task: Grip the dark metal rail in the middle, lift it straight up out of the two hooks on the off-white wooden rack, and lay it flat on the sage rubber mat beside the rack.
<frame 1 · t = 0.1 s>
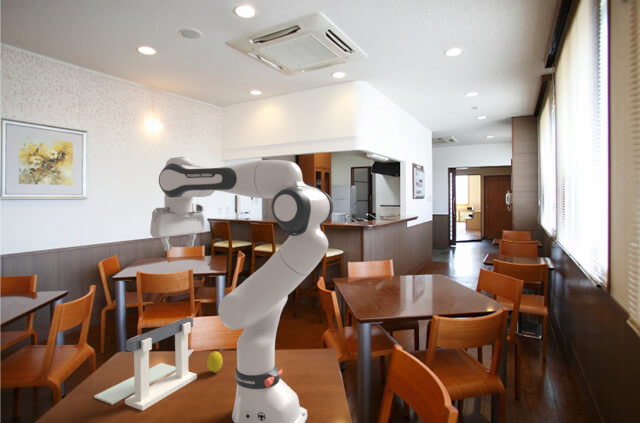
hand: (179, 248, 119), 48 cm above the table, tool pointing down, fingers open, 8 cm apart
mat: (139, 382, 125), on the table
rack: (163, 390, 120), on the table
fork: (186, 361, 143), on the table
rail: (162, 337, 119), point 18 cm above the table, touching rack
lemon: (215, 373, 132), on the table
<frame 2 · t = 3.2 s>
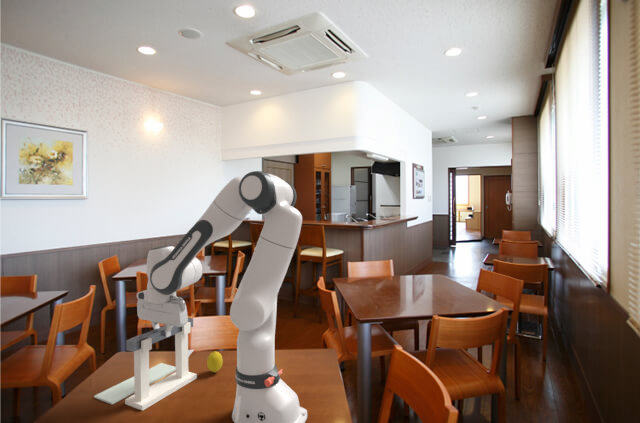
hand: (162, 335, 119), 19 cm above the table, tool pointing down, fingers closed on rail, 3 cm apart
rail: (162, 337, 119), point 18 cm above the table, touching gripper, rack
everything else where it was.
when the fingers open (3 cm above the table, at t = 10.8 s): rail drops 2 cm, resting on mat.
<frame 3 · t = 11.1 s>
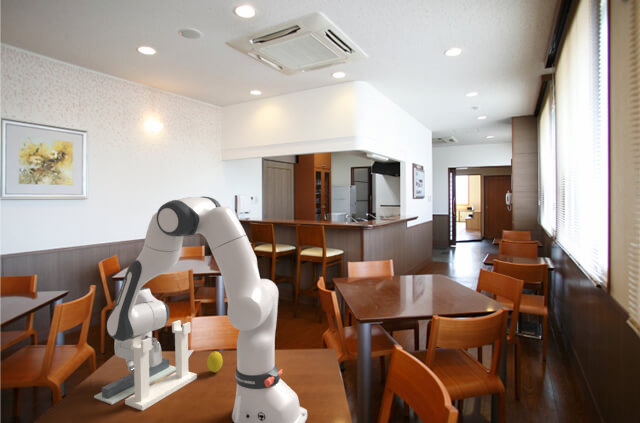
hand: (138, 372, 125), 3 cm above the table, tool pointing down, fingers open, 5 cm apart
rail: (138, 380, 125), point 1 cm above the table, touching mat
everything else where it was.
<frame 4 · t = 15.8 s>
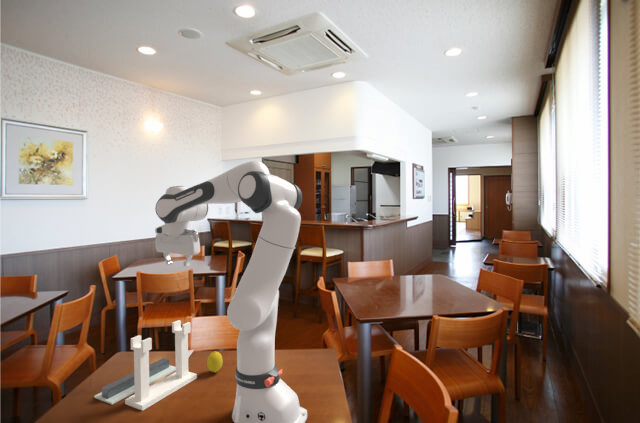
hand: (177, 265, 136), 39 cm above the table, tool pointing down, fingers open, 8 cm apart
nothing on the table moved.
at the end: rail inside the target area on the mat (0.4 cm from its centre), point 0.6 cm above the mat's base; rail touching mat; the gripper is holding nothing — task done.
